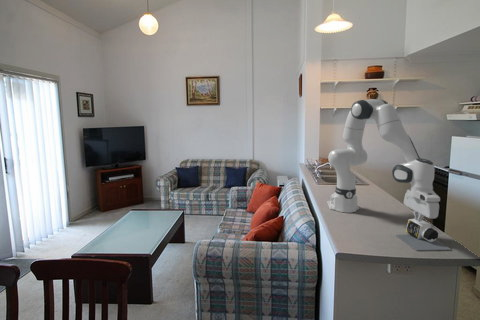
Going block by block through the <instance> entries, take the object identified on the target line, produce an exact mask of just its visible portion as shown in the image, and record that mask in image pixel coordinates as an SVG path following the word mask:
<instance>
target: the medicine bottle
mask: <svg viewBox="0 0 480 320" xmlns="http://www.w3.org/2000/svg"><path fill="white" fill-rule="evenodd" d="M407 221H408V222H407V224H406V229H405V232H406V233H407V235H412V236H413V237H415V238H417V239H422V238H424V239H425V240H427V241H429V242H434V241H435V240H437V239H438V237H439V232H438V230H435V229H434V228H432V225H433V224H431V223H430V222H428V221H426V220H424V219H422V222H419V221H417V220H415V218H409V219H408V220H407Z"/></svg>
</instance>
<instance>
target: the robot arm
mask: <svg viewBox="0 0 480 320" xmlns="http://www.w3.org/2000/svg"><path fill="white" fill-rule="evenodd" d="M368 120H369V121H370V120H374V121H375V123H376V126H377V130H378V132H379V135H380V138H382V140H384V141H386V142H387V143H391V144H393V145H395V146H397V147H398V148H399V149H400V150H401V152H402V155H403V157H404V160H405V161H406V162H403V163H399V164H396V165H395V166H394V167H393V168H392V172H391V175H392V178H393V179H394V181H396V182H398V183H401V184H407V183H408V184H410V188H408V189H406V192H405V194H404V197H403V198H404V199H403V205H404V206H405V207H407V208H408V209H410V210H412V211H413V215H414V219H415V220H417V221H419V222H422V220H423V219H424V217H426V218H427V219H432V220H433V219H437V218H438V217H439V211H440V204H439V202H441V197H440V196H439V195H438V194H437V193H436V192H435V191H434V186H433V184H434V183H433V182H434V180H435V169H436V168H435V164H434V162H433V161H431V160H429V159H426V158H421V157H420V155H419V153H418V151H417V149H416V147H415V144H414V143H413V140H412V138H411V137H410V135H409V134H408V133H407V132H406V129H405V128H404V126H403V124H402V120H401V118H400V115H399V113H398V111H397V109H396V108H395V106H394V105H393V104H391V103H388V102H387V101H386V100H384V99H375V98H370V99H359V100H357V101H355V102H353V103H352V106H351V107H350V110H349V112H348V114H347V117H346V119H345V124H344V128H343V133H342V140H343V141H344V142H345V143H346V144H347V148H337V149H333V150H331V151H330V152H329V154H328V156H327V157H328V158H327V159H328V163H329V164H330V166H332V167H333V169H334V170H335V173H336V186H335V191H334V192H333V193H332V194H331V195H330V196H329V199H328V200H327V201H326V204H327V205H328V207H329V210H332V211H336V212H341V213H348V214H349V213H350V214H351V213H355V212H357V211H358V210H360V207H359V206H358V196H357V195H356V194H357V188H356V184H357V181H356V180H357V176H356V175H355V174H354V173H353V172H352V171H351V168H350V167H357V166H361V165H364V164H365V163H366V162H367V160H368V154H367V151H366V150H365V148H363V136H364V133H365V127H366V123H367V121H368Z"/></svg>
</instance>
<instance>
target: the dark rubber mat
mask: <svg viewBox="0 0 480 320" xmlns="http://www.w3.org/2000/svg"><path fill="white" fill-rule="evenodd" d="M395 237H396V238H398V239H399V240H401V241H402V242H404V243H405V244H406V245H408V246H409V247H410V248H412V249H413V250H414V251H416V252H429V251H430V252H431V251H436V252H437V250H449V251H452V249H451V248H450V247H448V246H447V245H446V244H443V243H442V242H440V241H439V240H437V239H436V240H435V241H434V242H429V241H427V240H425V239H424V238H422V239H417V238H415V237H413V236H412V235H410V234H395Z"/></svg>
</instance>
